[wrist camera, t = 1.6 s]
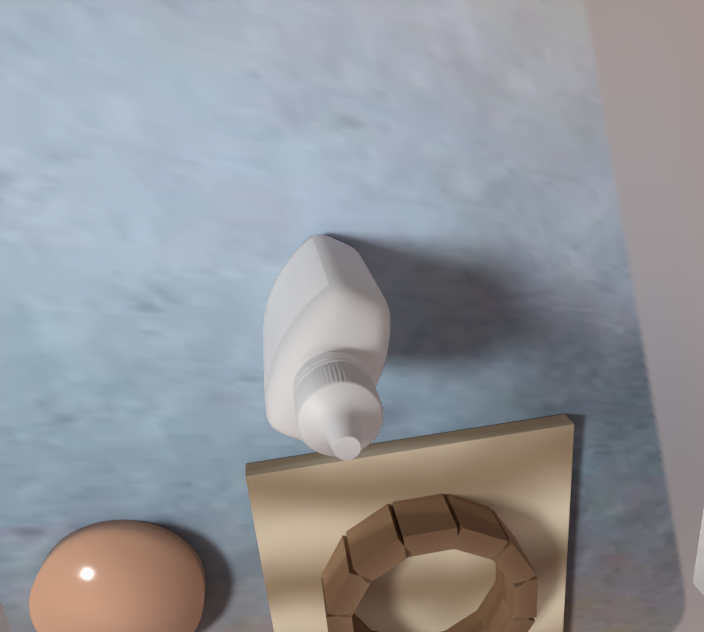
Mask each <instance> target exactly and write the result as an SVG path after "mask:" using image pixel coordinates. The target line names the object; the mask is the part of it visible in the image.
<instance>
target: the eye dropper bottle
mask: <svg viewBox="0 0 704 632" xmlns="http://www.w3.org/2000/svg"><path fill="white" fill-rule="evenodd" d="M390 324H391V323H390V311H389V308H388V305H387V302H386V300H385V298H384V296H383V294H382V292H381V290H380V289H379V287H378V285H377V283H376V282H375V280H374V278H373V276H372V275H371V273H370V271H369V270H368V268H367V266H366V264H365V263H364V261H363V259H362V258H361V256H360V254H359V253H358V252H357V251H356V250H355V249H354V248H353V247H351V246H349V245H347V244H345V243H343V242H340V241H338V240H336V239H334V238H331V237H329V236H326V235H321V234H317V235H315V236H312V237H310V238H309V239H308V240H306V241H305V242H304V243H303V244H302V245H301V246H300V247H299V248H298V249H297V250H296V251H295V252H294V253H293V254H292V256H291V257H290V258H289V259H288V261H287V262H286V263H285V265H284V266H283V268H282V269H281V271H280V273H279V274H278V276H277V278H276V280H275V282H274V284H273V287H272V289H271V292H270V295H269V298H268V302H267V306H266V310H265V317H264V331H263V341H264V388H265V406H266V414H267V418H268V420H269V423H270V425H271V426H272V427H273V428H274V429H276V430H277V431H279V432H281V433H283V434H285V435H288V436H290V437H293V438H296V439H299V440H302V441H304V442H305V444H307V445H308V447H310V448H311V449H312V450H315V452H319V453H320V454H323V455H327V456H331V457H332V456H335V457H338V458H339V459H341V460H351V459H354V458H355V457H357V456H358V455H359V453H360V451H361V450H362V449H364V448H366V446H368V445H369V444H370V443H372V441H373V440H374V439H375V437H376V436H377V434H378V433H379V430H380V429H381V426H382V422H383V417H384V416H383V413H384V412H383V407H382V403H381V401H380V398H379V396H378V393H377V390H376V388H375V387H376V385H377V383H378V381H379V378H380V376H381V373H382V370H383V367H384V364H385V360H386V356H387V351H388V346H389V338H390Z"/></svg>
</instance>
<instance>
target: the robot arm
mask: <svg viewBox="0 0 704 632" xmlns="http://www.w3.org/2000/svg"><path fill="white" fill-rule="evenodd" d="M693 584H694V585H695V586H696V587H697V588H698V590H699V591H700V592H701V593H702V594H703V595H704V511H703V517H702V524H701V530H700V537H699V544H698V551H697V557H696V564H695V571H694V577H693ZM0 632H12V630H11V628H10V625H9V623H8V620H7V618H6V615H5V613H4V610H3V608H2V605H1V602H0Z"/></svg>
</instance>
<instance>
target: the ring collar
mask: <svg viewBox="0 0 704 632" xmlns="http://www.w3.org/2000/svg"><path fill="white" fill-rule="evenodd" d="M573 440H574V423H573V422H572V421H571V420H570V419H569V418H568V417H567V416H566V415H565V414H561V415H555V416H548V417H542V418H535V419H529V420H523V421H516V422H510V423H503V424H497V425H491V426H484V427H478V428H472V429H465V430H459V431H452V432H446V433H440V434H433V435H427V436H421V437H414V438H408V439H401V440H395V441H389V442H382V443H376V444H369V445H368V446H366V448H364V449H362V450H361V451H360V453H359V455H358V456H357V457H355V458H354V459H351V460H341V459H339V458H338V457H335V456H332V457H331V456H327V455H323V454H320V453H319V452H318V453H312V454H306V455H299V456H293V457H287V458H280V459H274V460H267V461H261V462H255V463H248V464H246V481H247V487H248V492H249V498H250V503H251V509H252V514H253V520H254V525H255V530H256V536H257V541H258V547H259V552H260V558H261V563H262V569H263V574H264V580H265V585H266V590H267V596H268V601H269V607H270V612H271V618H272V623H273V629H274V632H563V621H564V603H565V585H566V567H567V549H568V531H569V512H570V494H571V476H572V458H573Z"/></svg>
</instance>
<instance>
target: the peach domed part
mask: <svg viewBox="0 0 704 632" xmlns="http://www.w3.org/2000/svg"><path fill="white" fill-rule="evenodd" d="M205 588H206V576H205V570H204V567H203V564H202V561H201V560H200V558H199V556H198V554H197V553H196V552H195V550H194V549H193V548H192V547H191V546H190V545H189V544H188V543H187V542H186V541H185V540H184V539H183V538H181V537H180V536H178V535H177V534H175V533H173V532H172V531H170V530H168V529H166V528H163V527H161V526H158V525H155V524H151V523H148V522H142V521H136V520H111V521H104V522H99V523H95V524H91V525H89V526H86V527H83V528H81V529H79V530H77V531H75V532H73V533H71V534H69V535H68V536H66V537H65V538H63V539H62V540H61V541H60V542H59V543H58V544H56V545H55V547H54V548H53V549H52V550H51V551H50V552H49V554H48V556H47V557H46V559H45V560H44V563H43V565H42V567H41V569H40V571H39V573H38V575H37V577H36V580H35V582H34V584H33V587H32V589H31V594H30V599H29V609H30V616H31V619H32V622H33V625H34V627H35V629H36V630H37V632H194V631H195V630H196V628H197V626H198V624H199V622H200V619H201V616H202V612H203V606H204V597H205Z"/></svg>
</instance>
